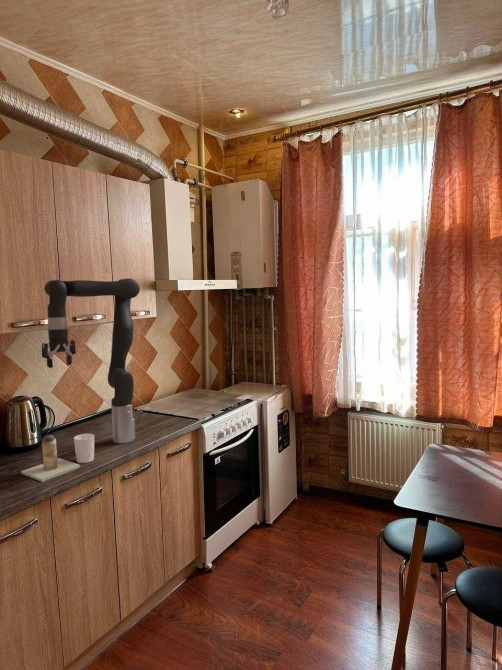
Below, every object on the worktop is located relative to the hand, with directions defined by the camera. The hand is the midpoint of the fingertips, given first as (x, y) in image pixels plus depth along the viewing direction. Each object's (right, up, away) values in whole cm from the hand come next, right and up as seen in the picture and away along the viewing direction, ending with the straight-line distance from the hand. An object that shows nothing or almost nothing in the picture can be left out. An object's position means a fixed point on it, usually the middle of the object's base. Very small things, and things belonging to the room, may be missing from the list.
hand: (59, 366), depth 190 cm
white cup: (+12, -39, -4) cm, 41 cm away
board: (+3, -40, -15) cm, 42 cm away
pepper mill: (+3, -39, -15) cm, 41 cm away
